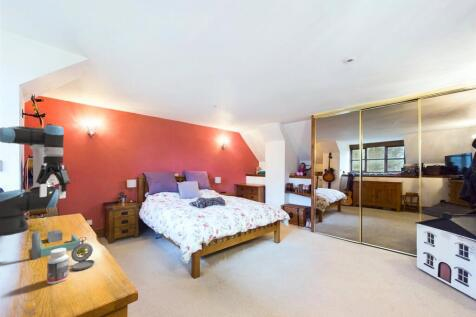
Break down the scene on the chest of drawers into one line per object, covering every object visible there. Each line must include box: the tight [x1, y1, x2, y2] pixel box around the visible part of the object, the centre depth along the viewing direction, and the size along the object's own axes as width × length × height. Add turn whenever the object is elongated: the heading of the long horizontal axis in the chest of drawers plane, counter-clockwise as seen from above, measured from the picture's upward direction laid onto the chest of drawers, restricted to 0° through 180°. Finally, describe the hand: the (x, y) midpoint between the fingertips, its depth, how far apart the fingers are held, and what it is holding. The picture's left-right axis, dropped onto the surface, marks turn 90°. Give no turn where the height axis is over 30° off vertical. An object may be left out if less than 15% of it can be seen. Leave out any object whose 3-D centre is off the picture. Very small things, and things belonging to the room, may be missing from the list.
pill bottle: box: [46, 248, 70, 285], centre depth 68 cm, size 5×5×10 cm
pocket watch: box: [70, 236, 95, 271], centre depth 78 cm, size 8×8×10 cm
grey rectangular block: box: [46, 229, 63, 244], centre depth 105 cm, size 7×5×4 cm
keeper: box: [31, 230, 81, 260], centre depth 94 cm, size 15×16×10 cm
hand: (52, 197), depth 106 cm, fingers open, 13 cm apart
